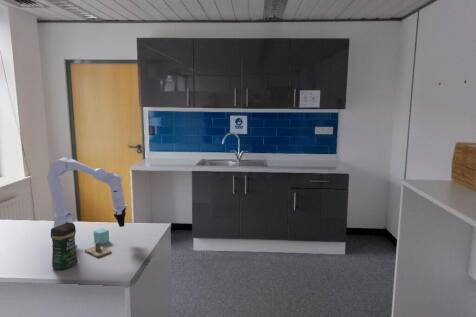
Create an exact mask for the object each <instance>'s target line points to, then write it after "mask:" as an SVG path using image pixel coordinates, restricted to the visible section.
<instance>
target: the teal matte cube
mask: <svg viewBox="0 0 476 317" xmlns="http://www.w3.org/2000/svg"><path fill="white" fill-rule="evenodd" d="M97 242H100V246H101V245H103V244H106V243H109V242H110V230H108V229H106V228H103V227H102V228H99V229H97V230H94V231H93V243H95V244H96V243H97Z"/></svg>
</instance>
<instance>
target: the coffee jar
mask: <svg viewBox="0 0 476 317" xmlns="http://www.w3.org/2000/svg"><path fill="white" fill-rule="evenodd" d="M76 232H77V229H76V225H75V223H74V222H73V223H68V222H66V223H65V224H62V225H59V226H57V227H54V226H53V227H52V228H51V229H50V238H51V241H52V242H51V243H52V245H53V246H52V256H51V257H52V259H51V267H52V269H54V270H58V271H59V270H67V269H69V268H71V267H72V266H74V265H75V264H77V263H78V255H77V248H76V246H75V244H76V241H75V240H76Z"/></svg>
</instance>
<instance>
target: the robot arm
mask: <svg viewBox="0 0 476 317" xmlns="http://www.w3.org/2000/svg"><path fill="white" fill-rule="evenodd" d="M70 171H77V172H82V173H84V174H87V175H90V176H92V178H93V180H96V181H98V182H101V183H105V184H107V185H108V186H109V189H110V195H111V201H112V209H113V210H114V212H115V213H113V216H114V218H115V220H116V221H117V225H118V226H119V228H123V227H125V220H126V219H125V218H126V214H127V212H126V210H127V208H128V207H129V205H128V204H126V202H125V201H126V199H125V195H124V189H123V183H122V181H123V176H121V175H120V174H119V173H117V172H116V173H114V172H113V171H108V170H106V169H105V168H104V167H102V168H100V167H99V168H93V167H91V166H89V165H86V164H85V163H82V162H80V161H77V160H76V159H74V158H70V157H65V156H64V157H61V158H59V159H57V160H53V162H52V163H50V165H49V170H48V172H47V176H46V179H47V182H48V186H49V187H48V188H49V191H50V196H51V200H52V203H53V208H54V217H53V221H54V222H53V228H54V227H57V226H59V225H62V224H65V223H66V222H68V223H74V221H75V220H74V219H75V218H74V216H73V215H72V213H71V210H70V209H68V206H67V202H66V197H65V193H64V188H63V185H62V184H63V183H62V180H61V177H62V176H64V174H65V173H66V172H70ZM76 246H77V247H78V244H77V243H75V247H76ZM51 247H53V244H52V245H51Z"/></svg>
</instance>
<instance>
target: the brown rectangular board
mask: <svg viewBox="0 0 476 317" xmlns="http://www.w3.org/2000/svg"><path fill="white" fill-rule="evenodd" d="M84 252H85V253H87V254H88V255H90V256H93V257H95V258H97V259H99V258H102V257H104V256H107V255H110V254H112V250H110V249H108V248H106V247H103V246H101V245H100V242H97V243H95V246H92V247H89V248H87V249H84Z"/></svg>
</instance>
